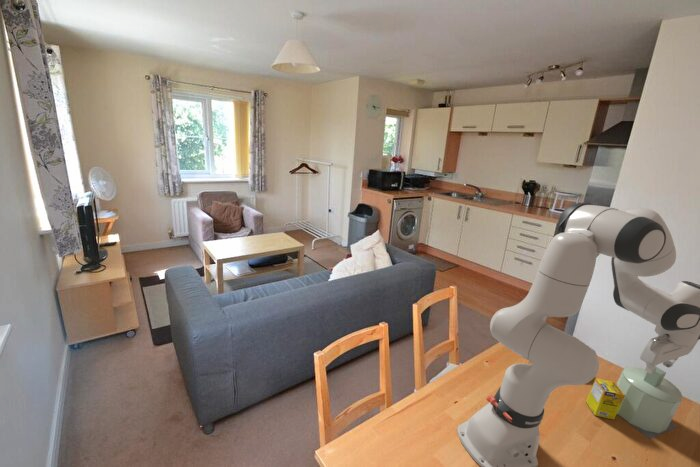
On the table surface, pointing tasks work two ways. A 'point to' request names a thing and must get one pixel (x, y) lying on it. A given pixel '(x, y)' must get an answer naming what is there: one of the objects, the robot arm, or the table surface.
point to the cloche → (648, 399)
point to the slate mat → (652, 434)
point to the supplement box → (605, 399)
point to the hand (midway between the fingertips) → (658, 368)
